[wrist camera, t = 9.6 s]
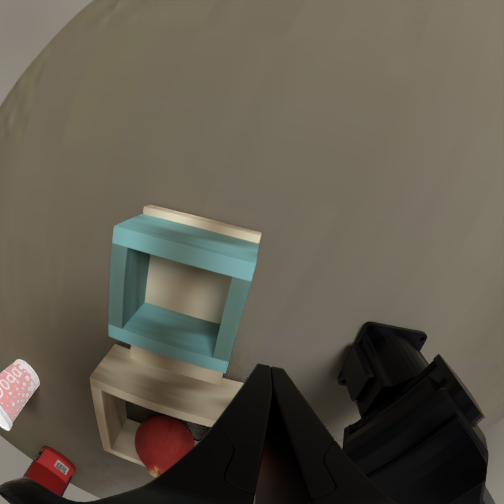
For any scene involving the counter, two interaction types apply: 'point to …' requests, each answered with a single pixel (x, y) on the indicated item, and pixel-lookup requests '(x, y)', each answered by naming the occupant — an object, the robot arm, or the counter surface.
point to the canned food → (51, 470)
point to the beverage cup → (15, 390)
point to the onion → (162, 442)
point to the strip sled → (171, 321)
